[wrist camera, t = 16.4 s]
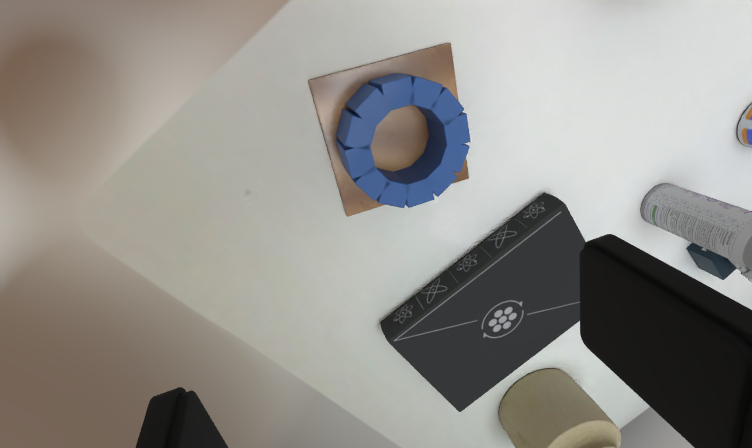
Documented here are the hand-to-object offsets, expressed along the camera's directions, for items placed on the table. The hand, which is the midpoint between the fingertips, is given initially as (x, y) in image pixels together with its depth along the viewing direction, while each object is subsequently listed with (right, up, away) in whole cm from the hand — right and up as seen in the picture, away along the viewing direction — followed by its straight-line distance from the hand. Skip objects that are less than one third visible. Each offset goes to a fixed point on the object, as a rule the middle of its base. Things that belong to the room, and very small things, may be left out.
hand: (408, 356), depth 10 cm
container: (+31, +6, +37) cm, 49 cm away
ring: (+1, +11, +26) cm, 28 cm away
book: (+12, -5, +37) cm, 39 cm away
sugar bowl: (+21, -21, +46) cm, 55 cm away
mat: (+1, +11, +27) cm, 29 cm away
